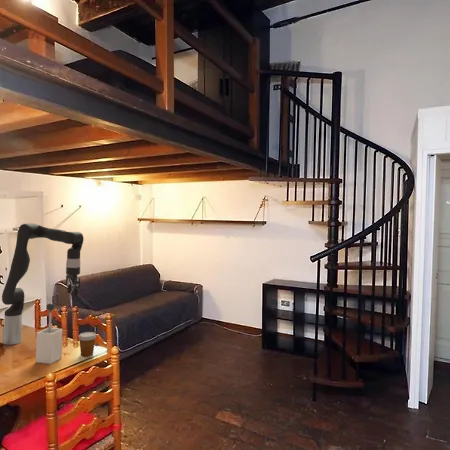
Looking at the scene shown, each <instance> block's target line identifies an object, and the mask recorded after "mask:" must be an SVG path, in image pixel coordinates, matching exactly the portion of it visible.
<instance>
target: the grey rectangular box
mask: <svg viewBox="0 0 450 450" xmlns="http://www.w3.org/2000/svg"><path fill="white" fill-rule="evenodd" d="M55 328H56V327H55ZM55 328H51V332H54V333H52V334H50V333H46V332H49V327H47V328H44V329H42V330H40V331H37V332H36V344H35V345H36V346H35V348H36V349H35V351H36V352H35V363H37V364H48V365H52V364H54V363H56V362H58V361H59V360H60V359H62V358H63V357H62V353H63V352H62V351H63V328H58V329H55Z"/></svg>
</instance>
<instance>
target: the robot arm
mask: <svg viewBox="0 0 450 450" xmlns="http://www.w3.org/2000/svg"><path fill="white" fill-rule="evenodd" d="M39 238H40V239H43V238H44V239H48V240H50V241H53V242H60V243H64V244H67V245H71V247H69V248H67V251H66V253H67V254H66V263H65V264H66V265H65V274H66V275H65V285H66V287H67V288H66V289H67V291H66V293H67V294H71V293H73V297H77V296H78V292H79V291H78V290H79V289H80V288H81V277H78V276H79V275H80V274H81V250H82V248H83V245H84V235H83V233H82V232H80V231H66V230H64V229H58V228H57V229H56V228H49V227H45V226H43V225H39V224H36V223H22V224H20V226H19V227H18V230H17V236H16V244H15V248H14V253H13V257H12V259H11V264H10V269H9V274H8V277H7V280H6V283H5V285H4V288H3V291H2V293H1V301H2V304H4V305H5V306H7V305H9V307H8V308H7V309H5V311H4V319H3V321H4V323H3V325H4V326H3V327H2V336H1V337H2V339H1V344H3V345H6V346H7V345H8V346H10V345H11V346H12V345H18V344H20V343H22V325H23V310H24V308H25V307H24V306H25V291H24V289H22V288H21V287H17V285H18V284H19V282H20V280H22V279H23V278H24V276H25V275H26V274H27V272H28V270H29V266H30V261H31V258H30V257H31V256H30V254H29V251H28V243H29V240H31V239H39ZM72 288H73V290H72Z"/></svg>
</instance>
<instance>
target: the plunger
mask: <svg viewBox="0 0 450 450" xmlns="http://www.w3.org/2000/svg"><path fill="white" fill-rule="evenodd" d="M55 308H56V307H55V304H54V303H52V302H51V303H48V304H47V305H46V310H47V311H48V312H49V315H48V316H49V320H48V328H49V332H46V333H50V334H52V333H54V332H51V327H52V311H54V310H55Z"/></svg>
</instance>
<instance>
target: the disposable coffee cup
mask: <svg viewBox="0 0 450 450" xmlns="http://www.w3.org/2000/svg"><path fill="white" fill-rule="evenodd" d="M96 337H97V333H95V332H93V331H85V332H82V333H80V334H79V336H78V340H79V349H80V356H82V357H81V358H90V356H91V357H92V356H93V355H94V349H95V343H96Z"/></svg>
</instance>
